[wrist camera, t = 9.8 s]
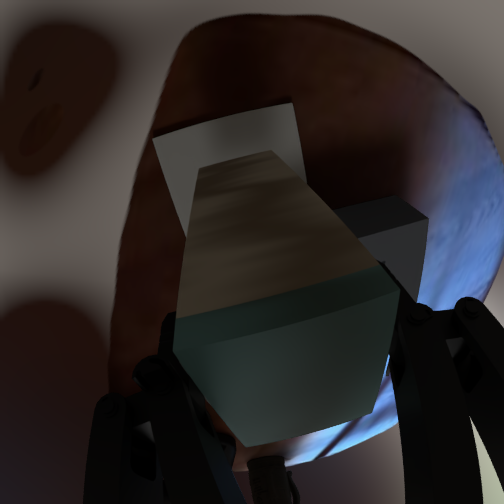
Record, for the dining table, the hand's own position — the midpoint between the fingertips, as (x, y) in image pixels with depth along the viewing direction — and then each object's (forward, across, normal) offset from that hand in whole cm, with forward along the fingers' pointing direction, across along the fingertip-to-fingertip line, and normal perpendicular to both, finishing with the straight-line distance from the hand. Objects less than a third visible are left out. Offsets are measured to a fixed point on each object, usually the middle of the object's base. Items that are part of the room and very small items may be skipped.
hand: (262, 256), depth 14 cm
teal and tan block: (+7, 0, 0) cm, 7 cm away
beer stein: (+13, -10, -77) cm, 79 cm away
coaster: (+13, 0, 0) cm, 13 cm away
